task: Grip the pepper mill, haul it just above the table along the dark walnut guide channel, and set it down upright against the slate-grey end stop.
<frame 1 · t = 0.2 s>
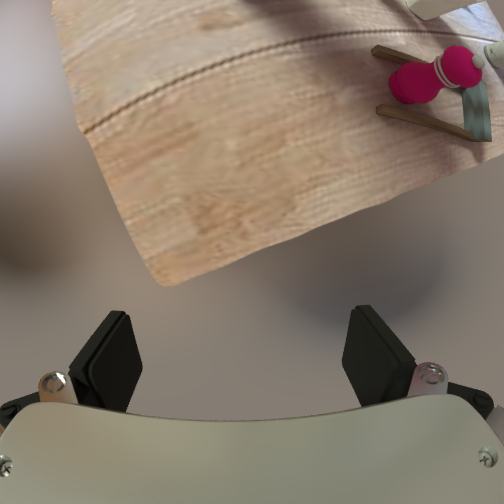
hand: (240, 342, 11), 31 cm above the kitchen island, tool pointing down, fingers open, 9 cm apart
travel mug: (490, 57, 30), on the kitchen island
pepper mill: (402, 88, 35), on the kitchen island
cup: (418, 7, 28), on the kitchen island
guide channel: (428, 96, 35), on the kitchen island
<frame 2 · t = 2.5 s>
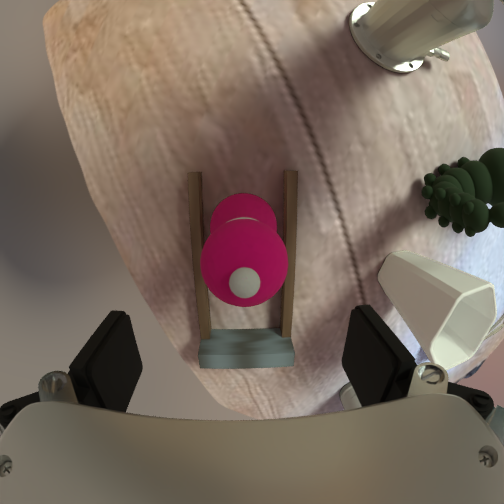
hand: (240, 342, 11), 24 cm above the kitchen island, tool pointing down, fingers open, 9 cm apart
toy figurine: (457, 180, 33), on the kitchen island
travel mug: (353, 388, 44), on the kitchen island
pepper mill: (243, 218, 34), on the kitchen island
cup: (397, 271, 37), on the kitchen island
tweezers: (483, 333, 44), on the kitchen island
guide channel: (244, 264, 36), on the kitchen island
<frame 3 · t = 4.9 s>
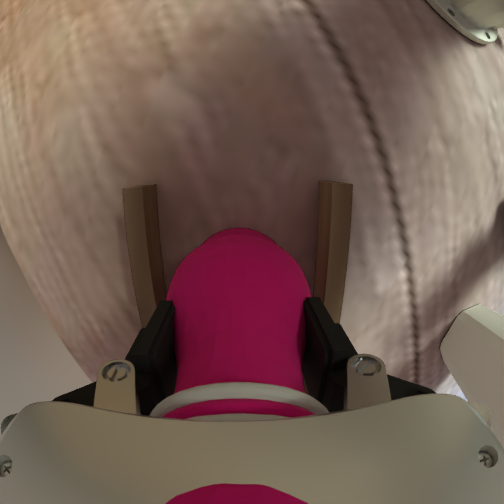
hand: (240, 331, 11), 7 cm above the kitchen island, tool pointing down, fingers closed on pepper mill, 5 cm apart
pepper mill: (239, 273, 18), on the kitchen island, touching gripper
cup: (462, 333, 21), on the kitchen island
guide channel: (241, 349, 19), on the kitchen island
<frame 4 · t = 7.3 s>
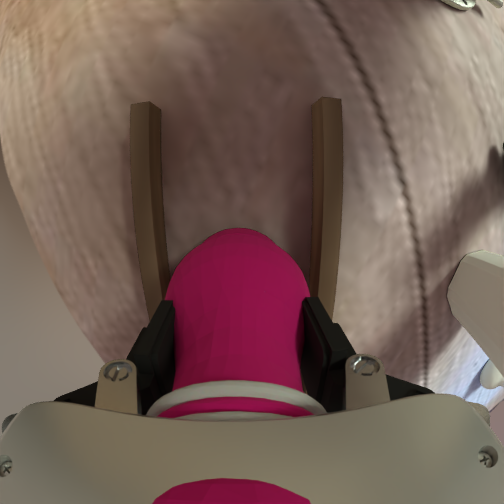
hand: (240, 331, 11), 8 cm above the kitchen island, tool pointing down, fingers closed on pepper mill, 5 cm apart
garlic bulb: (490, 364, 26), on the kitchen island
pepper mill: (238, 273, 18), point 1 cm above the kitchen island, touching gripper
cup: (469, 282, 21), on the kitchen island
guide channel: (239, 279, 19), on the kitchen island
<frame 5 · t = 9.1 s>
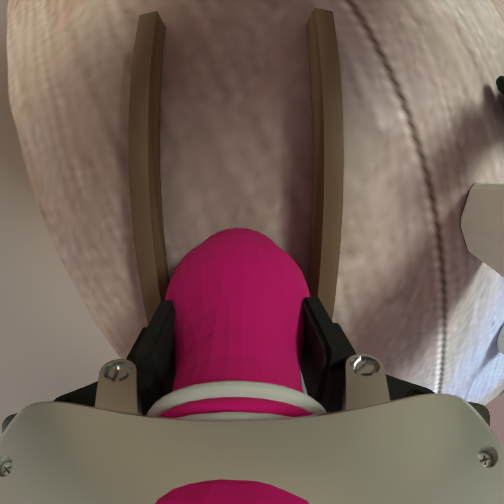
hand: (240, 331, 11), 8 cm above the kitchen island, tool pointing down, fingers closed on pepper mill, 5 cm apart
pepper mill: (238, 273, 18), point 1 cm above the kitchen island, touching gripper
cup: (481, 217, 19), on the kitchen island
guide channel: (236, 180, 17), on the kitchen island
when the fingers open (7 cm above the kitchen island, at t = 9.9 s): pepper mill stays where it is, on the kitchen island.
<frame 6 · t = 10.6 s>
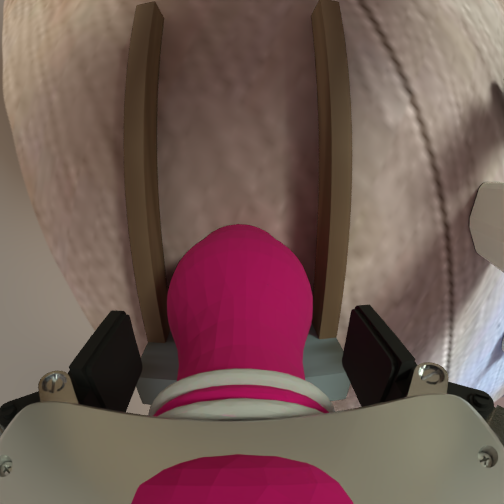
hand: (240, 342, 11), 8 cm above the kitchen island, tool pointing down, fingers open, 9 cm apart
pepper mill: (239, 269, 18), on the kitchen island
cup: (489, 218, 18), on the kitchen island
guide channel: (237, 177, 16), on the kitchen island
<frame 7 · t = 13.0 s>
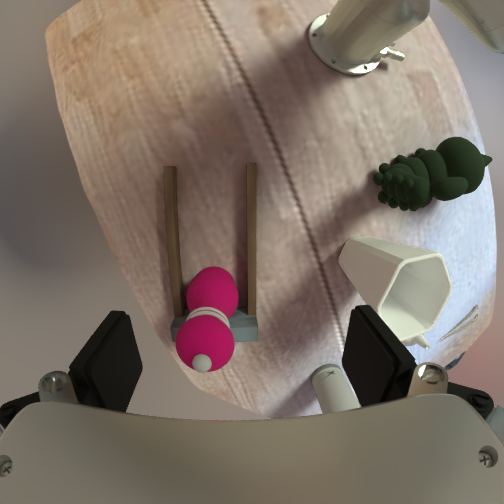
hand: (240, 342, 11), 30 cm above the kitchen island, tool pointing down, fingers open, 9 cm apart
toy figurine: (416, 170, 39), on the kitchen island
garlic bulb: (406, 327, 47), on the kitchen island
travel mug: (325, 374, 48), on the kitchen island
pepper mill: (214, 285, 42), on the kitchen island
cup: (358, 256, 42), on the kitchen island
tweezers: (452, 327, 49), on the kitchen island
guide channel: (212, 247, 40), on the kitchen island
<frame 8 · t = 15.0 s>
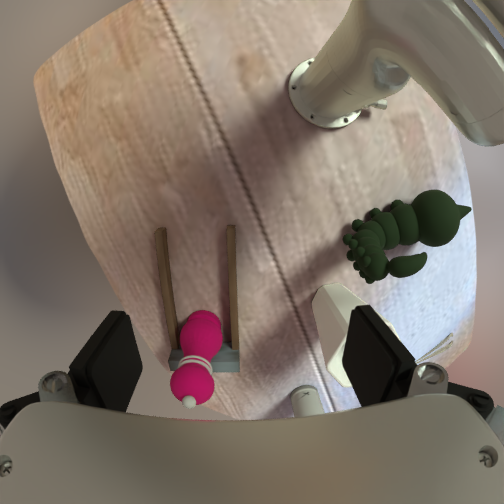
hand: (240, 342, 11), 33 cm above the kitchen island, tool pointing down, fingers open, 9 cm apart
toy figurine: (392, 219, 44), on the kitchen island
travel mug: (303, 393, 55), on the kitchen island
pepper mill: (204, 324, 48), on the kitchen island
cup: (330, 300, 48), on the kitchen island
tweezers: (425, 353, 55), on the kitchen island
guide channel: (201, 295, 46), on the kitchen island
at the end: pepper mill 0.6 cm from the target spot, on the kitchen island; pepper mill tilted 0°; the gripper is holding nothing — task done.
